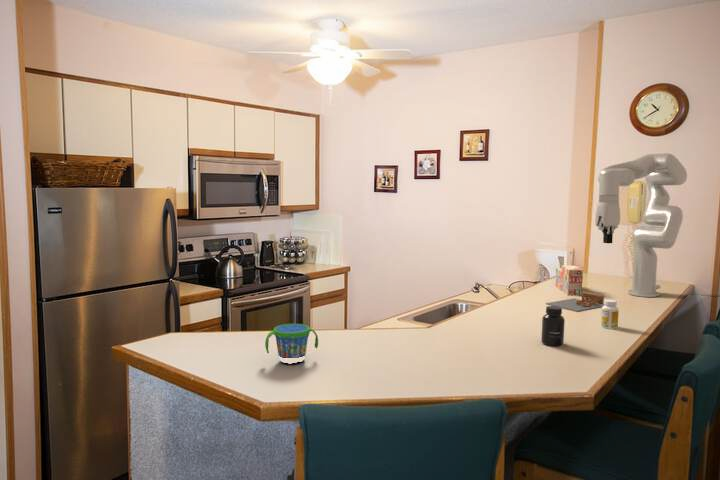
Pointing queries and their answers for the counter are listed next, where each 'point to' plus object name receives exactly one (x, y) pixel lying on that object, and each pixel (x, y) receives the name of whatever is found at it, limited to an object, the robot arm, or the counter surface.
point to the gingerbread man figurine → (590, 299)
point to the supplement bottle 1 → (553, 326)
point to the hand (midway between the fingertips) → (607, 242)
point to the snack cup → (291, 340)
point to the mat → (573, 305)
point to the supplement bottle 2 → (610, 315)
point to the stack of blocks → (569, 279)
